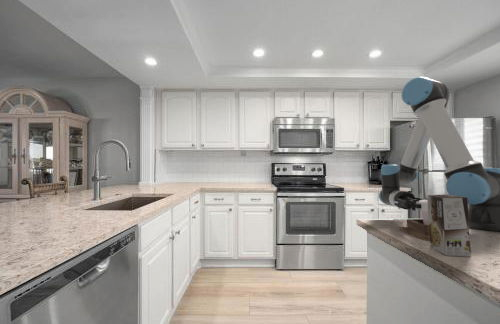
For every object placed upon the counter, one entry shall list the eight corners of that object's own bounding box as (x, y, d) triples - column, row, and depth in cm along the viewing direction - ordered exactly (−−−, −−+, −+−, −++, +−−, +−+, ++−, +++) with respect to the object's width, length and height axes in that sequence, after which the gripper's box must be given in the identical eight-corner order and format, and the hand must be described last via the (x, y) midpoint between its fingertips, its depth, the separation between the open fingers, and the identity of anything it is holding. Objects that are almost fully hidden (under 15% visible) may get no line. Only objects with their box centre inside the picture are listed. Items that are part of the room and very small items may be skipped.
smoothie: (425, 229, 90) (423, 190, 90) (416, 225, 96) (414, 188, 97) (445, 229, 89) (443, 189, 89) (435, 225, 95) (433, 188, 96)
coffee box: (472, 257, 69) (468, 197, 69) (445, 256, 70) (442, 197, 70) (452, 246, 78) (449, 194, 78) (429, 246, 79) (426, 194, 79)
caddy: (436, 228, 100) (435, 217, 100) (468, 239, 84) (468, 226, 84) (399, 229, 101) (399, 218, 101) (425, 240, 85) (424, 227, 85)
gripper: (425, 207, 110) (468, 217, 87) (380, 208, 111) (410, 219, 88) (424, 190, 110) (467, 195, 87) (379, 191, 111) (409, 197, 88)
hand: (438, 207), depth 88 cm, fingers closed on smoothie, 6 cm apart
